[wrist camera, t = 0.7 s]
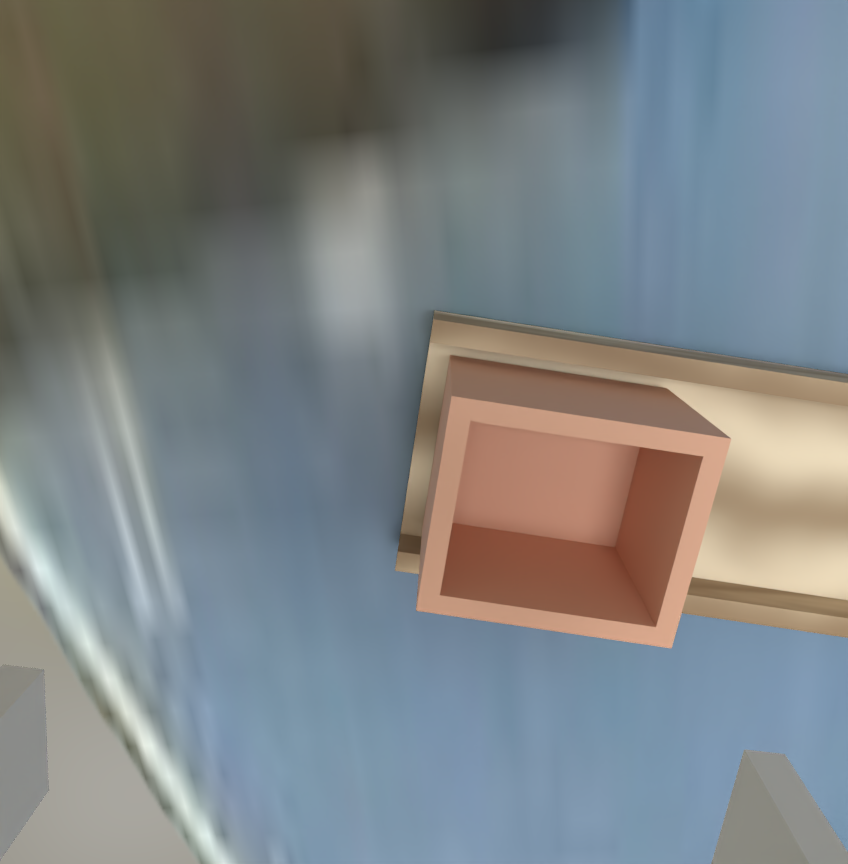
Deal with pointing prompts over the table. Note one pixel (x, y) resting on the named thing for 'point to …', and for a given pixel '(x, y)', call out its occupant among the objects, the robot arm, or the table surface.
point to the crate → (566, 502)
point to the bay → (741, 476)
